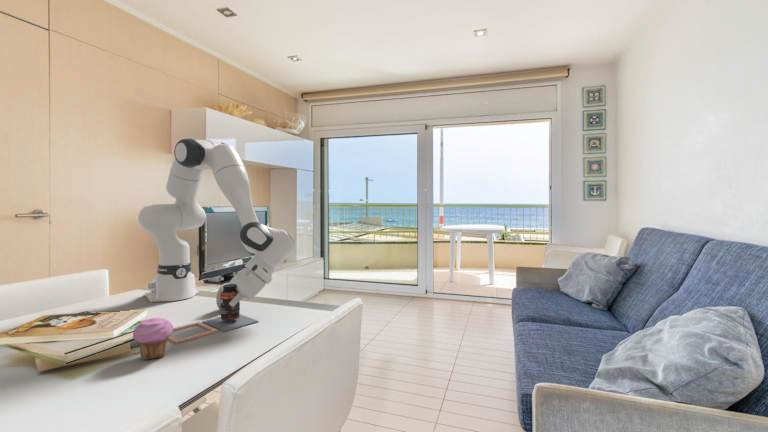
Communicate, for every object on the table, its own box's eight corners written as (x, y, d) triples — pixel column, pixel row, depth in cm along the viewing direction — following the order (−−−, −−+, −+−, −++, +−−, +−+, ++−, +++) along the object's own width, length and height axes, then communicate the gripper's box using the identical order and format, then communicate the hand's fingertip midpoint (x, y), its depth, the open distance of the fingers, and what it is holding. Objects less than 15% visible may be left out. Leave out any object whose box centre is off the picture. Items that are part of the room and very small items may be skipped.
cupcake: (131, 366, 88) (131, 326, 87) (135, 353, 95) (134, 316, 95) (174, 358, 92) (173, 320, 92) (173, 346, 100) (173, 311, 99)
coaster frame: (158, 333, 109) (158, 332, 109) (199, 323, 118) (199, 321, 118) (176, 343, 102) (176, 341, 102) (217, 331, 111) (217, 329, 111)
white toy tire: (224, 314, 128) (223, 286, 127) (214, 314, 128) (214, 286, 128) (236, 306, 138) (235, 280, 137) (227, 306, 138) (227, 280, 138)
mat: (202, 322, 119) (202, 321, 119) (235, 313, 129) (235, 312, 129) (224, 332, 111) (224, 331, 111) (258, 322, 120) (258, 320, 120)
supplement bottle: (243, 315, 122) (243, 283, 122) (234, 321, 116) (233, 287, 116) (226, 315, 123) (226, 282, 122) (216, 321, 117) (216, 286, 117)
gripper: (243, 260, 131) (215, 290, 126) (259, 269, 114) (226, 304, 109) (256, 270, 134) (228, 300, 129) (273, 281, 117) (242, 316, 112)
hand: (228, 302), depth 119 cm, fingers closed on supplement bottle, 6 cm apart
